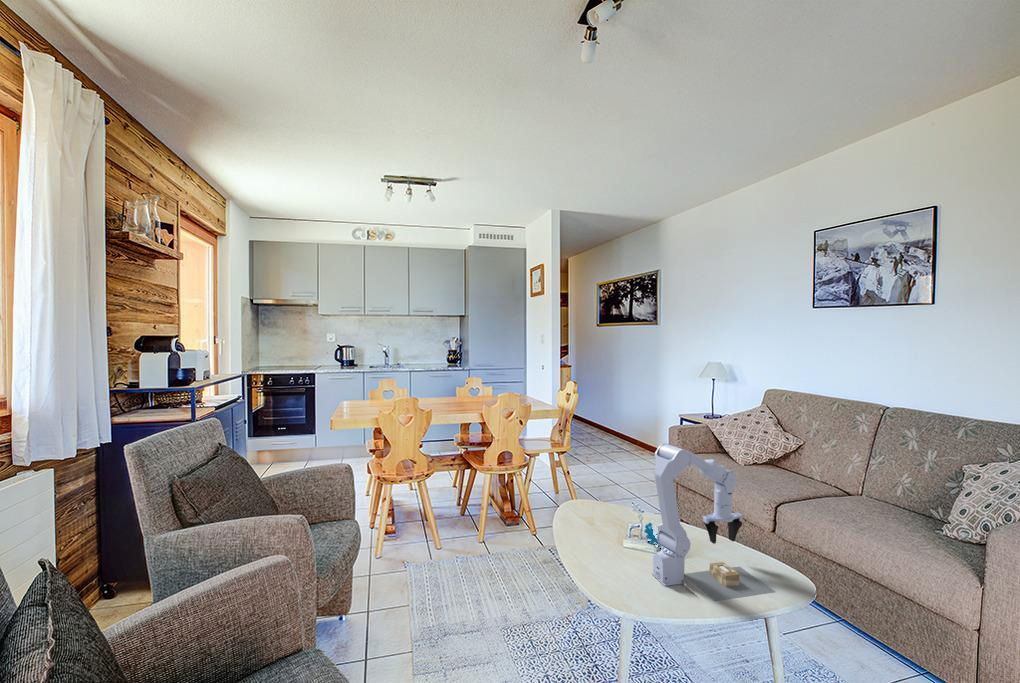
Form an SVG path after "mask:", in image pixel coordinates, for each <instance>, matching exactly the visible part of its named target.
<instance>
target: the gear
mask: <svg viewBox="0 0 1020 683" xmlns="http://www.w3.org/2000/svg"><path fill="white" fill-rule="evenodd" d="M644 528H645V529H644V531H643V533H645V534H646V535H645V538H646V539H647V540H648V539H652V540H651V541H649V542H648V543H649V544H650V545H651V546H652V545H654V543H655V542H656V543H657V544H658V545H660V544H659V543H658V541H657V539H656V538H655V536H654V535H653V529H652V528H653V523H652V522H648V523H647V524H645V525H644ZM656 535H657V534H656ZM656 543H655V545H657V544H656Z"/></svg>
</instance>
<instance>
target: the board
mask: <svg viewBox="0 0 1020 683" xmlns="http://www.w3.org/2000/svg"><path fill="white" fill-rule="evenodd" d="M719 568H720V569H721V570H723V571H724V572H730V571H729V570H728V569H726V568H725V567H724V566H719ZM731 568H732V569H733V570H735V571H736V572H737V573H739V585H736V586H728V587H725V586H724V585H723V584H721V583H720V582H719V581H718V580H716V579H715V578H714V577H713V576H711V575H710V569H709V570H703V571H695V572H688V573H684V577H686V578H687V579H689V580H690V581H691V582H692V583H693V584H694V585H695V586H697V587H698V588H699V589H700V590H701V591H702V592H703V593H705V594H706V595H707V596H708V597H710V598H711V599H712V600H713V601H714V602H718V601H725V600H730V599H731V600H732V599H737V598H738V599H739V598H744V597H746V598H747V597H752V596H759V595H765V594H772V593H776V592H777V591H776V590H774V589H772V588H771V587H770V586H768V585H767V584H766V583H765V582H763V581H761V580H760V579H759V578H757V577H755V576H754V575H752V574H751V573H750V572H748V571H747V570H745V569H744V568H743V567H741V566H735V567H733V566H732V567H731Z"/></svg>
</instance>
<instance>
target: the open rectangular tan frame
mask: <svg viewBox="0 0 1020 683" xmlns="http://www.w3.org/2000/svg"><path fill="white" fill-rule="evenodd" d="M719 566H724V567H725V568H726V569H728V570H729V571H730V572H724V571H723V570H721V569H720V568H719ZM709 570H710V575H711V576H713V577H714V578H715V579H716V580H718V581H719V582H720V583H721V584H723V585H724V586H725V587H728V586H736V585H739V573H737V572H736V571H735V570H733V569H732V567H730V565H728V564H727V563H725V562H724V561H718V562H711V563H709Z"/></svg>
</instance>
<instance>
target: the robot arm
mask: <svg viewBox="0 0 1020 683" xmlns="http://www.w3.org/2000/svg"><path fill="white" fill-rule="evenodd" d="M654 457H655V469H654V479H655V484H656V485H655V486H656V491H657V498H658V503H659V511H660V516H661V517H660V518H661V522H660V524H658V525H657V528H658V533H657V541H658V543H659V544H658V545H659V546H660V548H661V549H660V548H659V549H660V551H658V552H656V553H654V555H653V557H652V558H653V559H652V560H653V562H652V563H653V564H652V566H653V568H652V572H651V574H652V575H653V577H655V578H656V579H657V580H658V581H659V582H660V583H661V584H662V585H663V586H665V587H666V586H674V585H681V584H685V582H684V581H683V580H684V579H685V575H684V574H685V559H686V558H685V557H686V556H687V555H688V553H689V551H690V550H691V540H690V539H689V537H688V535H687V534H688V533H687V531H686V530H685V529H684V527H683V526H682V524H681V522H680V516H679V515H680V514H679V509H678V503H677V495H676V489H675V483H674V478H677V477H678V476H680V474H682V473H683V472H684V470H686V468H687V467H688V466H689V467H690V466H693V467H695V468H697V469H699V473H700V474H701V475H702V476H705V477H706V478H708V479H709V480H711V482H712V483H714V497H713V498H714V500H713V501H714V503H713V512H712V513H710V514H707V515H703V516H702V522H703V525H704V526H705V528H706V530H707V534H708V536H709V541H710V542H711V543H712V544H714V545H715V544H716V543H717V533H718V530H719V526H718V525H717V524H716V523H718V522H720V523H721V522H727V527H728V528H727V529H728V530H727V531H728V540H730V541H731V542H735V540H736V538H737V533H738V532H739V530H740V529H741V527H742V526H743V522H742V521H743V514H741V513H740V512H733V492H735V486H736V484H737V482H738V478H737V476H736V475H735V473H734V472H733V471H732V470H729V469H726V468H725V466H724V465H722V464H720V465H719V464H718V463H717V461H716V460H715V459H712V458H711V459H705V460H704V459H703V458H701V457H700V456H698V455H697V454H696V453H694V452H693V451H690V450H687V449H685V448H680V447H678V446H677V447H676V446H673V445H670V444H668V443H666V442H665V443H661V444H659V446H658V447H657V449H656V451H655V452H654Z"/></svg>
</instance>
